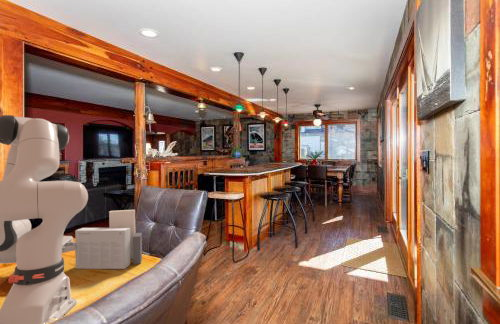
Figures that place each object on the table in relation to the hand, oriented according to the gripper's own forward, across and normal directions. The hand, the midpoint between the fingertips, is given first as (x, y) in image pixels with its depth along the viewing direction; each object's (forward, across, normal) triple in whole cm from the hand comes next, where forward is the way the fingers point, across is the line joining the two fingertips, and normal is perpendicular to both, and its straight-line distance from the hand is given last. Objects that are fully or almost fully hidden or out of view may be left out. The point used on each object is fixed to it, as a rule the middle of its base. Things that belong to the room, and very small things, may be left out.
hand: (77, 246), depth 114 cm
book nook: (+18, +1, +9) cm, 20 cm away
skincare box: (+10, -2, +9) cm, 14 cm away
